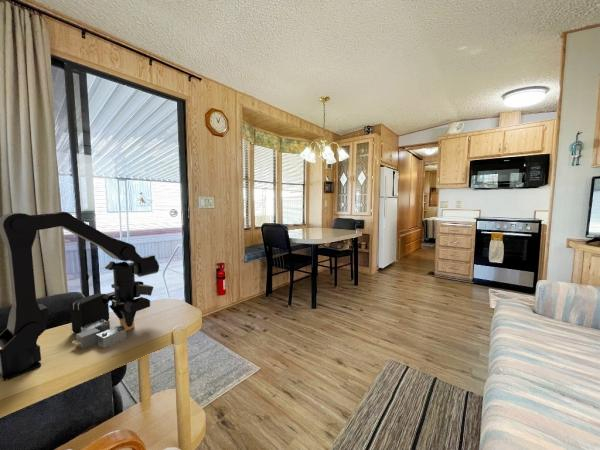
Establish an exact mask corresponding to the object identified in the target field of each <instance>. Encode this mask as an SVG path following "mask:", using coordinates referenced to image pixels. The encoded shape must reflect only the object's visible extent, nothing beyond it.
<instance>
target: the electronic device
mask: <svg viewBox="0 0 600 450" xmlns="http://www.w3.org/2000/svg"><path fill="white" fill-rule="evenodd" d="M105 294H106V293H94V294H92V295H88V296H85V297H83V298H81V299H80V298H79V299H78V300H75V301H72V302H71V303H70V306H69V308H70V317H71V319H70V320H71V331H72V332H73V333H81V327H82V326H85V325H88V324H91V323H94V322H97V321H99V320H102V319H103V320H106V321H108V322H109V319H110V310H109V308H110V307H109V306H110V305H109V303H108V304H105V303H103V302H102V297H103V296H104V295H105Z"/></svg>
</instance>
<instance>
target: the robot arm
mask: <svg viewBox="0 0 600 450" xmlns="http://www.w3.org/2000/svg"><path fill="white" fill-rule="evenodd" d="M58 227H59V228H61V229H64V230H65V231H68V232H70V233H71V234H74V235H75V236H78V237H80V238H81V239H83V240H85V241H87V242H89V243H91V244H93V245H95V246H97V247H98V248H100V249H101V250H102V251H103V252H104V253H105V254H107V255H108V257H110V258H111V259H114V260H117V261H120V262H115V261H112V260H111V261H109V263H108V264H107V265H106V266H105V267H104V269H105V270H109V271H113V273H112V274H113V283H112V284H111V288H112V289H113V290H114V291H111V292H107V293H104V294H105V295H104V296H103V297H102V302H103V303H105V304H108V305H109V303H110V302H111V304H110V305H109V308H110V309H111V310H112V311H113V313H114V315H116V316H117V318H118V320H119V321H120V319H122V318H124V320H125V322H126V324H127V326H128V327H130V326H132V324H133V320H134V321H135V317H136V314H137V312H139V311H142V310H144V309H147V308H151V299H148V298H146V297H143V296H149V297H150V296H152V294H153V290H154V286H153V285H149V284H144V282H143V281H141V280H140V281H138V280H136V279H135V275H136V276H137V277H139V278H141V277H145V276H149V275H154V274H157V273H158V272H159V270H160V265H159V262H158V260H157V259H156V255H154V254H149V255H146V256H141V255H140V254H139V253H138V252H137V251H136V249H137V248H136V247H135V245H133V244H132V243H129V242H127V241H124V240H120V239H116V238H113V237H112V236H111V237H110V235H107V234H106V233H103V232H102V231H100V230H99V229H97V228H95V227H93V226H91V225H89V224H87V223H86V222H84V221H82V220H81V219H78V218H77V217H75V216H73V215H72V214H71V213H70V212H67V211H55V212H51V213H42V214H39V213H38V214H26V213H21V212H10V213H7V214H4V215H2V216H0V237H1V239H2V242H3V244H4V245H5V248H6V249H7V258H8V259H7V260H8V268H9V278H10V290H11V299H12V305H11V308H10V311H9V314H8V320H7V325H6V328H5V329H4V330H3V331H2V332H1V333H0V348H1V349H0V376H1V377H2V378H3V379H2V378H1V377H0V378H1V379H2V380H3V381H7V380H6V379H8V380H10V379H13V378H15V377H18V376H20V375H22V374H25V373H27V372H29V371H33V370H35V369H36V368H40V367H41V366H42V363H41V361H42V357H41V356H42V354H41V346H40V345H39V344H38V339H39V337H40V336H41V335H43V333H44V332H45V331H46V329H47V324H50V321H49V319H48V312H49V308H48V307H46V306H45V305H44V304H42V303H38V301H37V293H36V284H35V283H36V282H35V272H34V260H33V259H34V258H33V247H34V246H33V245H34V242H35V240H36V238H37V231H41V230H47V229H52V228H58ZM127 261H128V262H127ZM142 295H143V296H142ZM12 377H13V378H12Z"/></svg>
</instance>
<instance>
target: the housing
mask: <svg viewBox="0 0 600 450" xmlns="http://www.w3.org/2000/svg"><path fill="white" fill-rule="evenodd" d="M110 324H111V323H110V321H109V320H108V321H106V320H103V319H102V320H99V321H97V322H94V323H91V324H88V325H85V326H82V327H81V332H84V331H87V330H89V329H92V328H96V329H98V330H100V333H98V334H96V341H97V343H96V346H99V347H100V348H101V349H107V348H109V347H111V346H113V345H116V344H118V343H120V342H122V341H123V342H124V341H125V340H127V331H126V329H124V328H122V327H120V325H117V326H114V327H111V325H110ZM81 332H80V333H81Z"/></svg>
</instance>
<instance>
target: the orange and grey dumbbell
mask: <svg viewBox="0 0 600 450" xmlns="http://www.w3.org/2000/svg"><path fill="white" fill-rule="evenodd" d="M119 326H120V327H122V328H124V329H126V332H127V331H129V330H132V329H133V328H135V327H136V326H135V319H134V320H133V324H132V326H130V327H128V326H127V324H126V322H125V320H124V318H122V319H120V320H119ZM98 333H100V330H98V329H96V328H92V329H89V330H87V331H84V332H77V334H75V339H76V340H73V341H72V342H71V343H72V344H73V345H75V346H77V347H78V348H80V349H82V350H84V349H86V348H89V347H92V346H94V345H97V341H96V334H98Z"/></svg>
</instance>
